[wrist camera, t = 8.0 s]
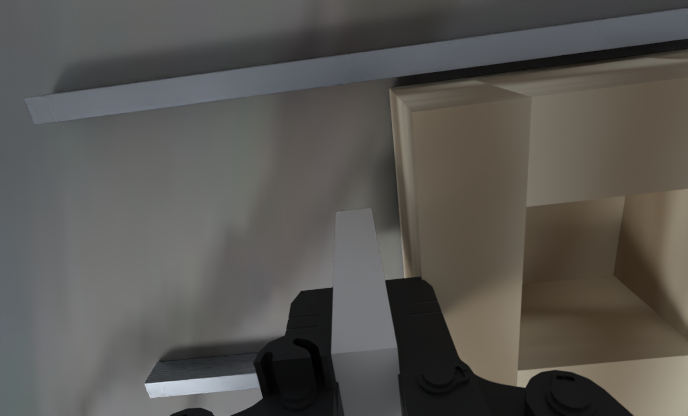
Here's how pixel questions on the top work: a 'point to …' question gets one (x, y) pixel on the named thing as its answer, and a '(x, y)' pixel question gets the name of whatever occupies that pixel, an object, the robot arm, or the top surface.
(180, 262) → the top surface
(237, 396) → the top surface
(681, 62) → the block
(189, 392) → the backstop
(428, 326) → the robot arm
